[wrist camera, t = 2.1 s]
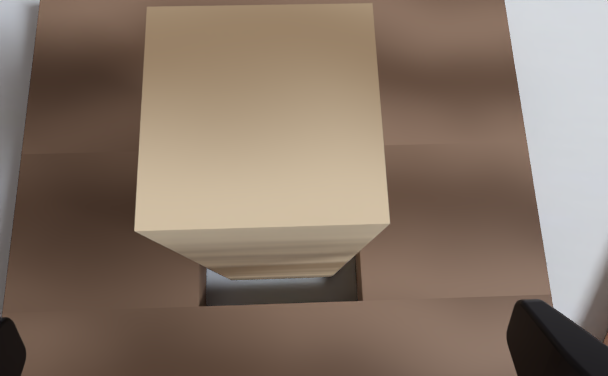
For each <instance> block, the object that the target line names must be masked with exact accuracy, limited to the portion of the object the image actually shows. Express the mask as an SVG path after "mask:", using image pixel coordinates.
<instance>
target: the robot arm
mask: <svg viewBox="0 0 608 376" xmlns="http://www.w3.org/2000/svg"><path fill="white" fill-rule="evenodd" d="M506 339H507V344H508V348H509V351H510V354H511V357H512V360H513V364H514V367H515V370H516V373H517V376H608V346H607V345H605V344H604V343H603V342H601V341H600V340H598V339H597V338H596V337H594V336H593V335H591V334H590V333H588V332H587V331H586V330H584V329H583V328H581V327H580V326H579V325H577V324H576V323H574V322H573V321H571V320H570V319H569V318H567V317H566V316H564V315H563V314H562V313H560V312H559V311H557V310H556V309H554V308H553V307H552V306H550V305H549V304H547V303H546V302H544V301H543V300H540V299H521V300H518V301H517V302H516V303H515V305H514V308H513V311H512V314H511V318H510V321H509V324H508V327H507V332H506ZM25 361H26V348H25V345H24V343H23V341H22V339H21V337H20V334H19V332H18V330H17V328H16V326H15V323H14V322H13V320H12V319H10V318H8V317H0V376H21V374H22V371H23V368H24V365H25Z"/></svg>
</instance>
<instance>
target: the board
mask: <svg viewBox="0 0 608 376" xmlns="http://www.w3.org/2000/svg"><path fill="white" fill-rule="evenodd" d="M351 3H372V4H373V16H374V29H375V41H376V54H377V66H378V79H379V91H380V104H381V116H382V129H383V141H384V154H385V166H386V179H387V191H388V204H389V216H390V224H389V225H388V226H387V227H386V228H385V229H384V230H383V231H381V232H380V233H379V234H378V235H377V236H376V237H375V238H374V239H373V240H372V241H370V242H369V243H368V244H367V245H366V246H365V247H364V248H363V249H362V250H360V251H359V252H358V253H357V254H356V255H355V264H356V281H357V298H358V301H345V302H315V303H286V304H257V305H228V306H206V270H207V268H206V267H204V266H202V265H200V264H198V263H196V262H194V261H192V260H190V259H188V258H186V257H185V256H183V255H181V254H179V253H177V252H175V251H173V250H171V249H169V248H167V247H165V246H163V245H161V244H159V243H157V242H155V241H153V240H151V239H149V238H147V237H145V236H143V235H141V234H139V233H137V232H135V231H134V227H135V209H136V191H137V174H138V156H139V138H140V121H141V103H142V85H143V67H144V50H145V32H146V14H147V7H160V6H224V5H287V4H351ZM521 299H540V300H543V301H544V302H546V303H547V304H549V305H550V306H552V307H553V303H552V297H551V291H550V284H549V278H548V272H547V266H546V259H545V253H544V247H543V240H542V234H541V228H540V222H539V215H538V209H537V203H536V196H535V190H534V184H533V178H532V171H531V165H530V159H529V152H528V146H527V140H526V134H525V127H524V121H523V115H522V109H521V102H520V96H519V90H518V83H517V77H516V71H515V65H514V58H513V52H512V46H511V39H510V33H509V27H508V21H507V14H506V8H505V2H504V0H40V5H39V13H38V21H37V30H36V38H35V46H34V55H33V63H32V71H31V79H30V88H29V96H28V104H27V113H26V121H25V129H24V137H23V146H22V154H21V162H20V171H19V179H18V187H17V195H16V204H15V212H14V220H13V229H12V237H11V245H10V253H9V262H8V270H7V278H6V287H5V295H4V303H3V312H2V317H8V318H10V319H12V320H13V322H14V323H15V326H16V328H17V330H18V332H19V334H20V337H21V339H22V341H23V343H24V345H25V348H26V361H25V365H24V368H23V371H22V374H21V376H517V373H516V370H515V367H514V364H513V360H512V357H511V354H510V351H509V348H508V344H507V339H506V332H507V327H508V324H509V321H510V318H511V314H512V311H513V308H514V305H515V303H516V302H517V301H518V300H521Z"/></svg>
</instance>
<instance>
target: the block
mask: <svg viewBox="0 0 608 376" xmlns="http://www.w3.org/2000/svg"><path fill="white" fill-rule="evenodd" d="M389 224H390V216H389V204H388V191H387V179H386V166H385V154H384V141H383V129H382V116H381V104H380V91H379V79H378V66H377V54H376V41H375V29H374V16H373V4H372V3H351V4H287V5H224V6H160V7H147V14H146V32H145V50H144V67H143V85H142V103H141V121H140V138H139V156H138V174H137V191H136V209H135V227H134V231H135V232H137V233H139V234H141V235H143V236H145V237H147V238H149V239H151V240H153V241H155V242H157V243H159V244H161V245H163V246H165V247H167V248H169V249H171V250H173V251H175V252H177V253H179V254H181V255H183V256H185V257H186V258H188V259H190V260H192V261H194V262H196V263H198V264H200V265H202V266H204V267H206V268H208V269H210V270H212V271H214V272H216V273H218V274H220V275H222V276H224V277H226V278H228V279H230V280H253V279H284V278H314V277H332V276H333V275H334V274H335V273H336V272H337V271H338V270H340V269H341V268H342V267H343V266H344V265H345V264H346V263H347V262H348V261H349V260H351V259H352V258H353V257H354V256H355V255H356V254H357V253H358V252H359V251H360V250H362V249H363V248H364V247H365V246H366V245H367V244H368V243H369V242H370V241H372V240H373V239H374V238H375V237H376V236H377V235H378V234H379V233H380V232H381V231H383V230H384V229H385V228H386V227H387V226H388V225H389Z"/></svg>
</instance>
